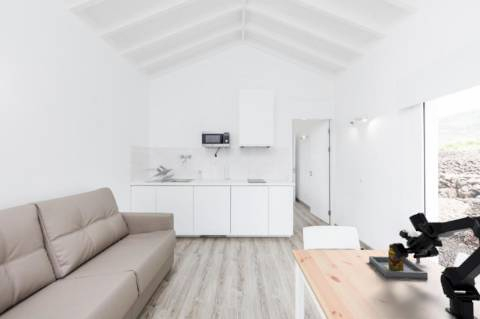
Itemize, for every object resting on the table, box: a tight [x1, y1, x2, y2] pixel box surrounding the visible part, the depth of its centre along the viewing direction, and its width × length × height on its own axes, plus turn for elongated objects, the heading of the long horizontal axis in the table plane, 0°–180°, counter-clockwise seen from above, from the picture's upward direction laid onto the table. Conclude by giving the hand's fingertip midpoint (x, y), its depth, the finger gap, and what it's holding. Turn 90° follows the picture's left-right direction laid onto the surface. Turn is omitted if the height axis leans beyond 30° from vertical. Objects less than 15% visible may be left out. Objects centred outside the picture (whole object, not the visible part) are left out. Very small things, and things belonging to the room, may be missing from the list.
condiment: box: [384, 243, 405, 271], centre depth 120 cm, size 7×8×12 cm
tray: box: [368, 255, 429, 280], centre depth 121 cm, size 18×18×3 cm
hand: (404, 257), depth 113 cm, fingers open, 9 cm apart
